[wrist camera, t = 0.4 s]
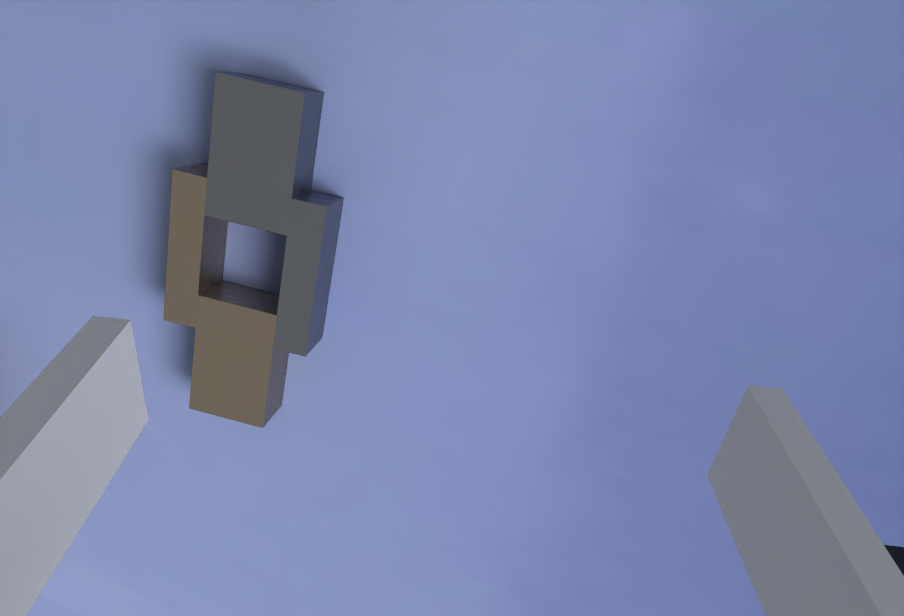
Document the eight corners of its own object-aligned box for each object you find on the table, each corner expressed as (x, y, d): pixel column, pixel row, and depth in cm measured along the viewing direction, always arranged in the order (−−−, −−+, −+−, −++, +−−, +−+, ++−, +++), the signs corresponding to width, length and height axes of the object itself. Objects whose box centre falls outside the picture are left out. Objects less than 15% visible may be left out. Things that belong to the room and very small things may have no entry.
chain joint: (207, 65, 36) (178, 63, 33) (358, 100, 36) (342, 101, 33) (184, 379, 43) (158, 400, 40) (310, 412, 42) (293, 436, 40)
